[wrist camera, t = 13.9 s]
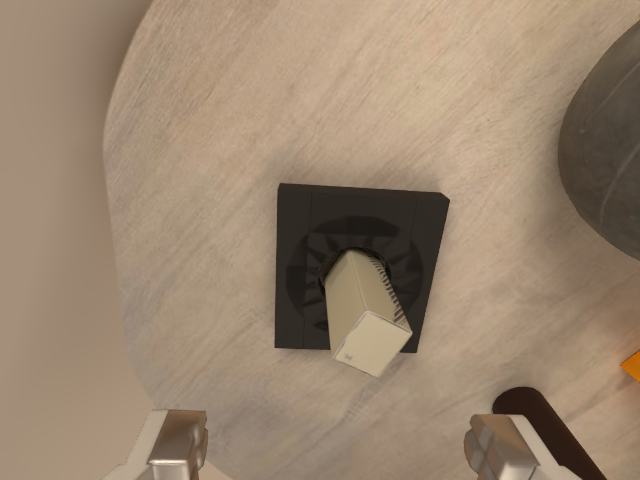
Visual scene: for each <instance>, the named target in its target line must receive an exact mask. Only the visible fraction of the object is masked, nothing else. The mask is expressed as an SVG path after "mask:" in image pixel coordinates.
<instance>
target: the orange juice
mask: <svg viewBox="0 0 640 480" xmlns="http://www.w3.org/2000/svg"><path fill="white" fill-rule="evenodd" d="M620 366H621V367H622V368H623V369H625V370H626V371H627V372H628V373H629V374H630V375H631V376H632V377H634V378H635V379H636V380H637V381H638V382H639V383H640V350H639V351H638V352H637V353H636V354H634V355H633V356H632V357H630V358H629V359H628V360H626V361H625V362H624V363H622V364H621V365H620Z"/></svg>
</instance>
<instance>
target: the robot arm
mask: <svg viewBox="0 0 640 480" xmlns="http://www.w3.org/2000/svg"><path fill="white" fill-rule="evenodd" d="M206 421H207V416H206V411H194V410H168V409H152V411H151V412H150V413H149V414H148V416H147V418H146V420H145V422H144V424H143V426H142V429H141V431H140V433H139V435H138V437H137V439H136V441H135V443H134V445H133V447H132V450H131V452H130V454H129V456H128V458H127V460H126V462H125V464H119V465H118V466H116V467H115V468H114V469H113V470H112V471H110V473H108V474H107V475H106V476H105V477H104V478H102V479H101V480H199V476H198V471H199V470H200V469H201V467H203V465H204V461H205V457H206V452H207V445H208V430H207V429H206V428H205V424H206ZM470 425H471V427H472V429H470V430H469V431H468V432H466V434H465V438H464V452H465V455H466V459H467V461H468V464H469V466H470V467H471V468H472V469H473V470H474V471H475V472H476V473H477V474H478V478H477V480H582V479H581V478H579V477H578V476H577V475H575V474H574V473H573V472H571V471H570V470H569V469H567V468H566V467H565V466H559V465H558V463H557V462H556V460H555V459H554V458H553V456H552V455H551V453H550V452H549V450H548V449H547V447H546V446H545V444H544V443H543V442H542V440H541V439H540V437H539V436H538V434H537V433H536V431H535V430H534V428H533V427H532V425H531V424H530V423H529V421H528V420H527V418H526V417H524V416H523V415H504V414H475V415H473V416H472V417H471V420H470Z"/></svg>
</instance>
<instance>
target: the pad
mask: <svg viewBox="0 0 640 480" xmlns="http://www.w3.org/2000/svg"><path fill="white" fill-rule="evenodd" d="M449 203H450V199H448V198H447V197H446V196H444V195H443V194H442V193H436V192H419V191H403V190H386V189H370V188H353V187H336V186H319V185H302V184H285V183H280V185H279V188H278V198H277V248H276V297H275V348H289V349H318V350H331V347H330V335H329V325H328V314H327V302H326V292H325V287H324V286H323V285H322V284H321V281H320V279H319V271H320V269H321V267H322V266H323V264H324V262H325V260H327V259H328V258H329V257H330V256H332V255H333V254H334V253H335V252H337V251H340V250H343V249H346V248H349V247H366V248H369V249H371V250H373V251H375V252H377V253H379V254H380V255H381V256H382V257H383V258H384V259H385V260H386V263H387V267H386V275H387V277H388V279H389V281H390V284H391V286H392V288H393V291H394V293H395V295H396V297H397V300H398V302H399V304H400V306H401V308H402V311H403V313H404V315H405V317H406V320H407V322H408V324H409V326H410V329H411V331H412V335H411V337H410V338H409V339H408V341H407V342H406V343H405V345H404V346H403V347H402V349H401V350H400V351H399V352H402V353H417V348H418V344H419V339H420V335H421V330H422V325H423V321H424V316H425V312H426V307H427V303H428V298H429V294H430V289H431V285H432V280H433V275H434V271H435V266H436V262H437V257H438V253H439V248H440V244H441V239H442V234H443V230H444V225H445V221H446V216H447V212H448V207H449Z"/></svg>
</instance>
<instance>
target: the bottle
mask: <svg viewBox="0 0 640 480" xmlns="http://www.w3.org/2000/svg"><path fill="white" fill-rule="evenodd" d="M492 410H493V414H504V415H523V416H524V417H526V418H527V420H528V421H529V423H530V424H531V425H532V427H533V428H534V430H535V431H536V433H537V434H538V436H539V437H540V439H541V440H542V442H543V443H544V444H545V446H546V447H547V449H548V450H549V452H550V453H551V455H552V456H553V458H554V459H555V460H556V462H557V463H558V465H559V466H565V467H566V468H567V469H569V470H570V471H571V472H573V473H574V474H575V475H577V476H578V477H579V478H581V479H582V480H607V479H606V478H605V476H604V475H603V474H602V472H601V471H600V470H599V468H598V467H597V466H596V465H595V463H594V462H593V461H592V459H591V458H590V457H589V455H588V454H587V453H586V451H585V450H584V449H583V448H582V446H581V445H580V444H579V442H578V441H577V440H576V438H575V437H574V436H573V434H572V433H571V432H570V431H569V429H568V428H567V427H566V425H565V424H564V423H563V421H562V420H561V419H560V417H559V416H558V415H557V413H556V412H555V411H554V410H553V408H552V407H551V406H550V404H549V403H548V402H547V400H546V399H545V398H544V396H543V395H542V394H541V393H540V392H539V391H537V390H535V389H534V388H529V387H517V388H513V389H510V390H508V391H506V392H504V393H503V394H502V395H500V396H499V397H498V398H497V400H496V401H495V403H494V405H493V409H492Z"/></svg>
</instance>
